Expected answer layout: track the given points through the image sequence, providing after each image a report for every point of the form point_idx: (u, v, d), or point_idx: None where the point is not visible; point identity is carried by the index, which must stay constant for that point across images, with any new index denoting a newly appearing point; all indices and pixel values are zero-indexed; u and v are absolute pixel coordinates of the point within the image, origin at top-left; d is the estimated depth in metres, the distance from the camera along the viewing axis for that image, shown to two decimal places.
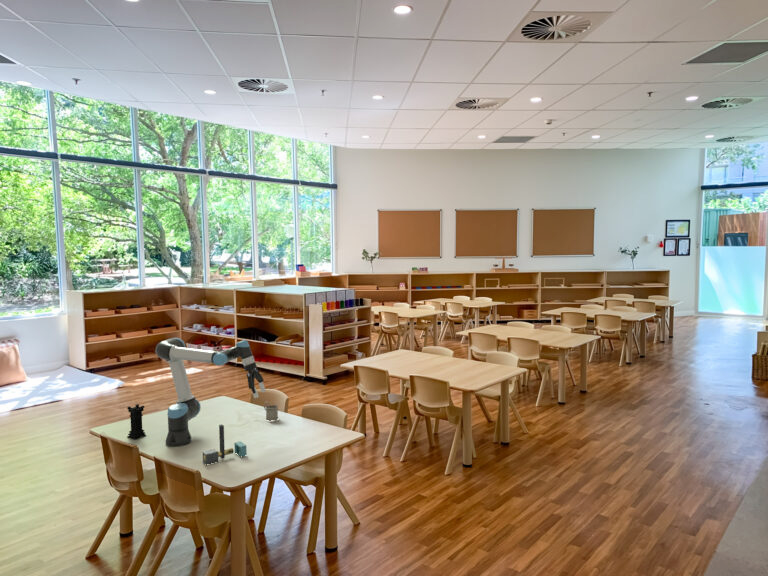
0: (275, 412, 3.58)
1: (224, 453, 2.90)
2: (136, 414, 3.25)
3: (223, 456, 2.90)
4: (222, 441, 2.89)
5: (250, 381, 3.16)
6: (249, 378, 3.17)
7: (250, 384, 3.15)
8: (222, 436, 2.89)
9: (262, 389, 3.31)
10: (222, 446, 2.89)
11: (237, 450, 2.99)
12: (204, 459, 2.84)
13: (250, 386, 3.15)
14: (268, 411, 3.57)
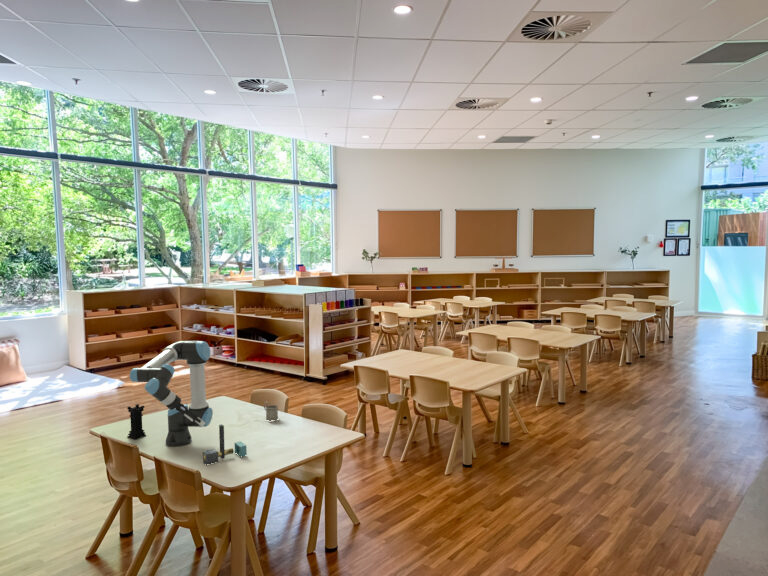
0: (275, 412, 3.58)
1: (224, 453, 2.90)
2: (136, 414, 3.25)
3: (223, 456, 2.90)
4: (222, 441, 2.89)
5: None
6: None
7: None
8: (222, 436, 2.89)
9: None
10: (222, 446, 2.89)
11: (237, 450, 2.99)
12: (204, 459, 2.84)
13: None
14: (268, 411, 3.57)
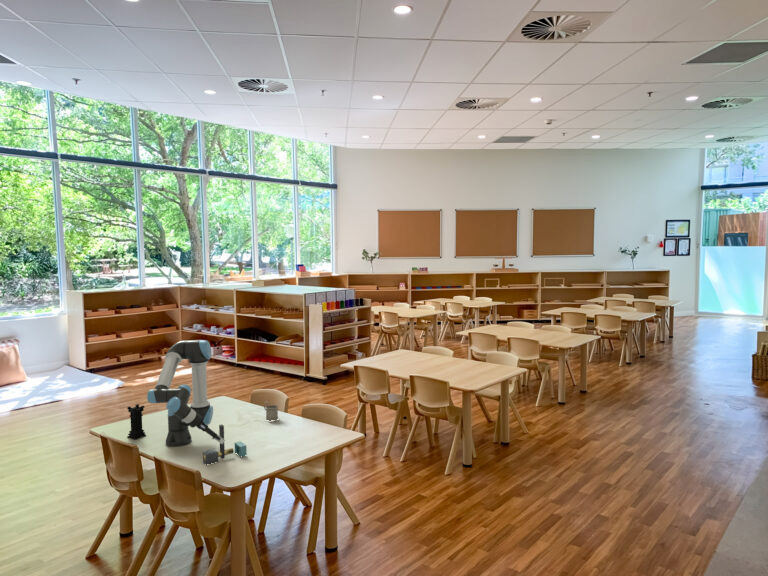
0: (275, 412, 3.58)
1: (224, 453, 2.90)
2: (136, 414, 3.25)
3: (223, 456, 2.90)
4: None
5: None
6: None
7: None
8: (222, 436, 2.89)
9: None
10: (222, 446, 2.89)
11: (237, 450, 2.99)
12: (204, 459, 2.84)
13: None
14: (268, 411, 3.57)
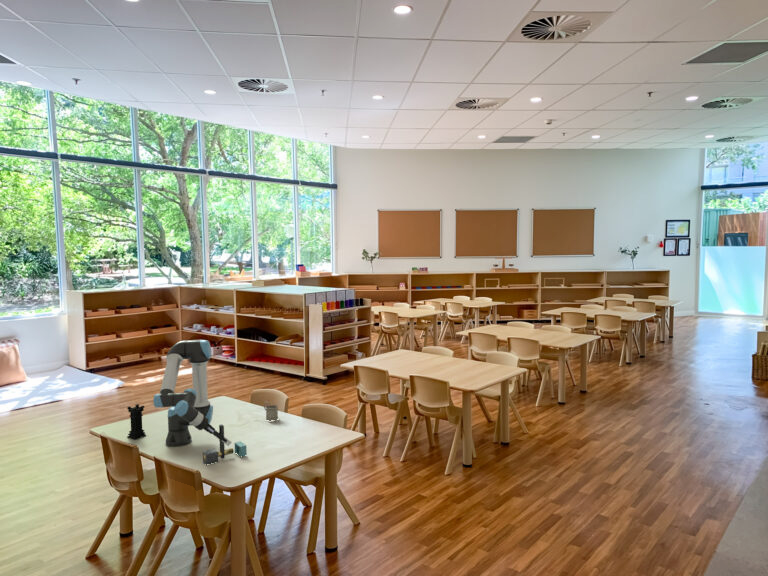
0: (275, 412, 3.58)
1: (224, 453, 2.90)
2: (136, 414, 3.25)
3: (223, 456, 2.90)
4: None
5: None
6: None
7: None
8: None
9: None
10: (222, 446, 2.89)
11: (237, 450, 2.99)
12: (204, 459, 2.84)
13: None
14: (268, 411, 3.57)
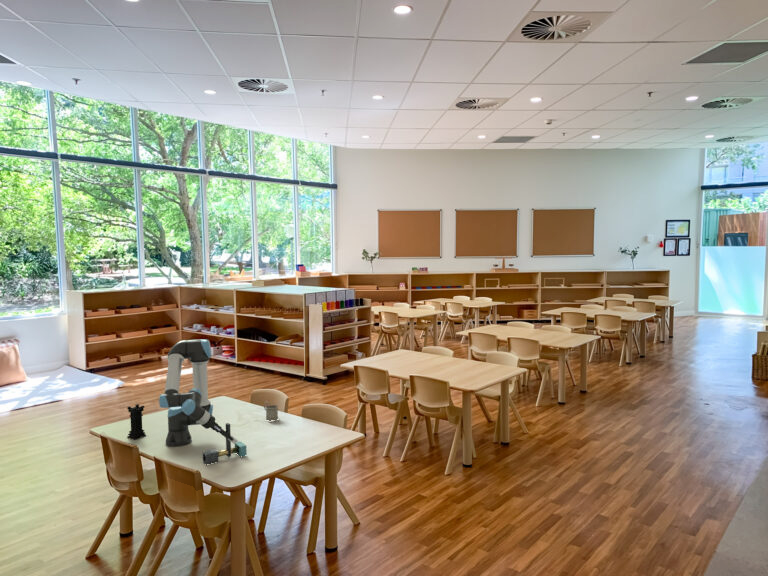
0: (275, 412, 3.58)
1: (230, 451, 2.92)
2: (136, 414, 3.25)
3: (229, 454, 2.92)
4: None
5: None
6: None
7: None
8: None
9: None
10: (228, 444, 2.92)
11: None
12: None
13: None
14: (268, 411, 3.57)
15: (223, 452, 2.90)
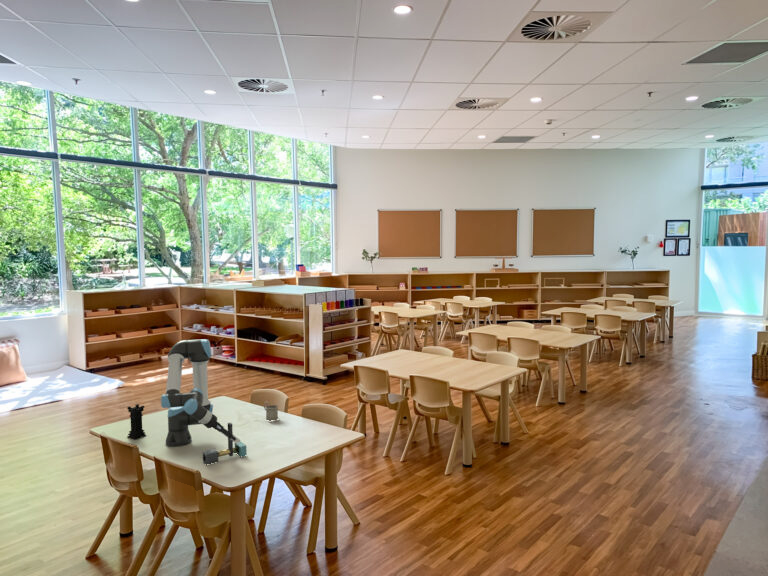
0: (275, 412, 3.58)
1: (232, 451, 2.93)
2: (136, 414, 3.25)
3: (231, 454, 2.93)
4: (230, 439, 2.92)
5: None
6: None
7: None
8: None
9: None
10: (230, 444, 2.92)
11: None
12: None
13: None
14: (268, 411, 3.57)
15: (225, 451, 2.91)
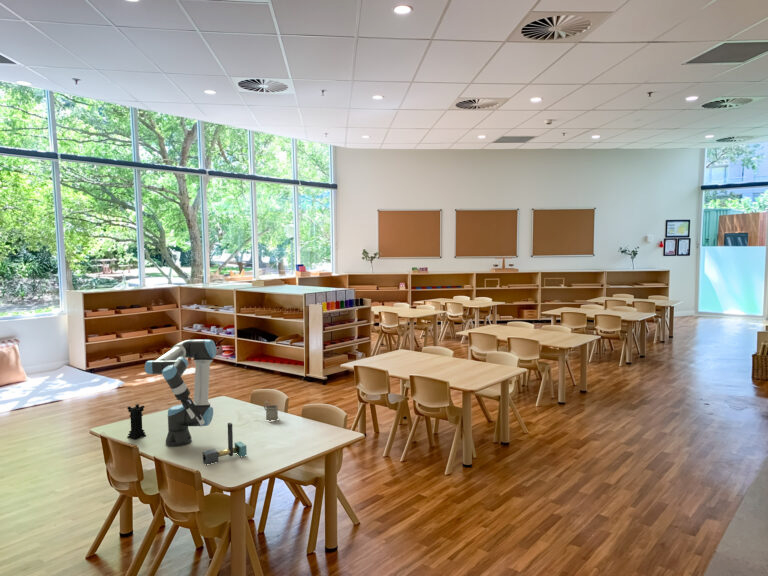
0: (275, 412, 3.58)
1: (232, 451, 2.93)
2: (136, 414, 3.25)
3: (231, 454, 2.93)
4: (230, 439, 2.92)
5: None
6: None
7: None
8: (230, 434, 2.92)
9: None
10: (230, 444, 2.92)
11: None
12: None
13: None
14: (268, 411, 3.57)
15: (225, 451, 2.91)
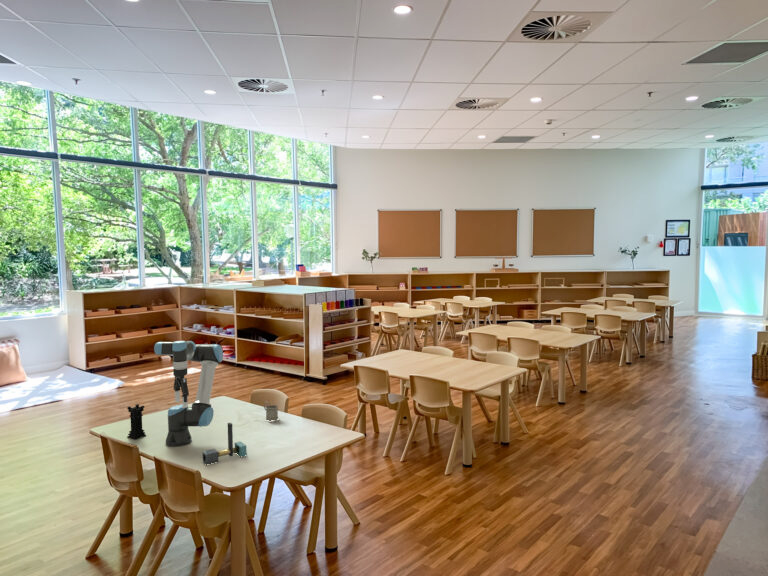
0: (275, 412, 3.58)
1: (232, 451, 2.93)
2: (136, 414, 3.25)
3: (231, 454, 2.93)
4: (230, 439, 2.92)
5: None
6: None
7: None
8: (230, 434, 2.92)
9: None
10: (230, 444, 2.92)
11: None
12: None
13: None
14: (268, 411, 3.57)
15: (225, 451, 2.91)
